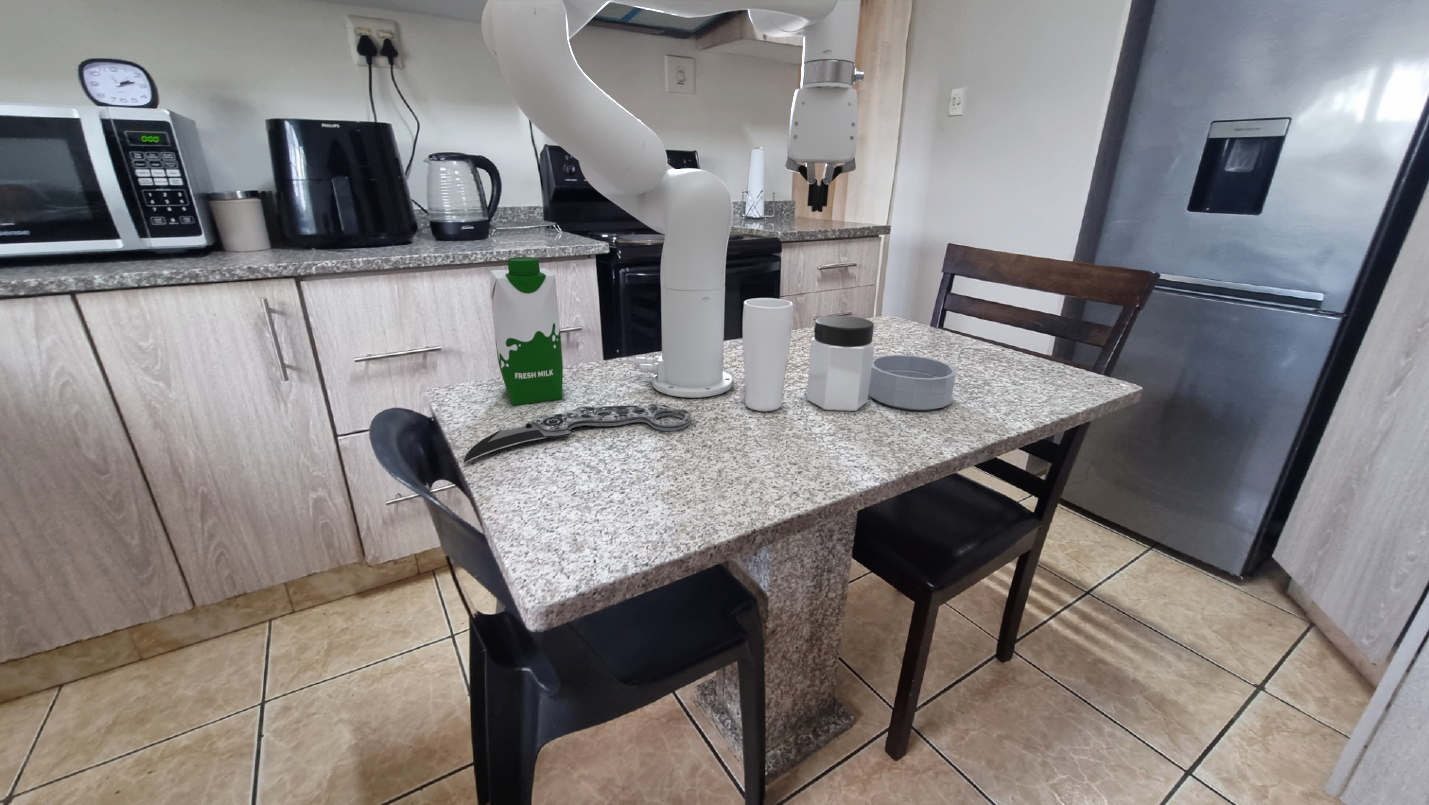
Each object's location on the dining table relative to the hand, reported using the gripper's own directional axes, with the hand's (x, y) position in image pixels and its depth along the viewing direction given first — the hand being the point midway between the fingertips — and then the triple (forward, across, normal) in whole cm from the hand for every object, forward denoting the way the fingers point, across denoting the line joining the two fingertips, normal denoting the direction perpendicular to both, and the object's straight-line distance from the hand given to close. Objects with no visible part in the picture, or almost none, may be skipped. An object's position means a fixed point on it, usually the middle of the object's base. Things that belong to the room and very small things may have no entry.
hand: (816, 211), depth 91 cm
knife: (+26, +29, +32) cm, 50 cm away
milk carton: (+26, +41, +19) cm, 52 cm away
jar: (+26, -4, +15) cm, 31 cm away
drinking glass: (+26, +7, +19) cm, 33 cm away
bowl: (+26, -15, +12) cm, 32 cm away
